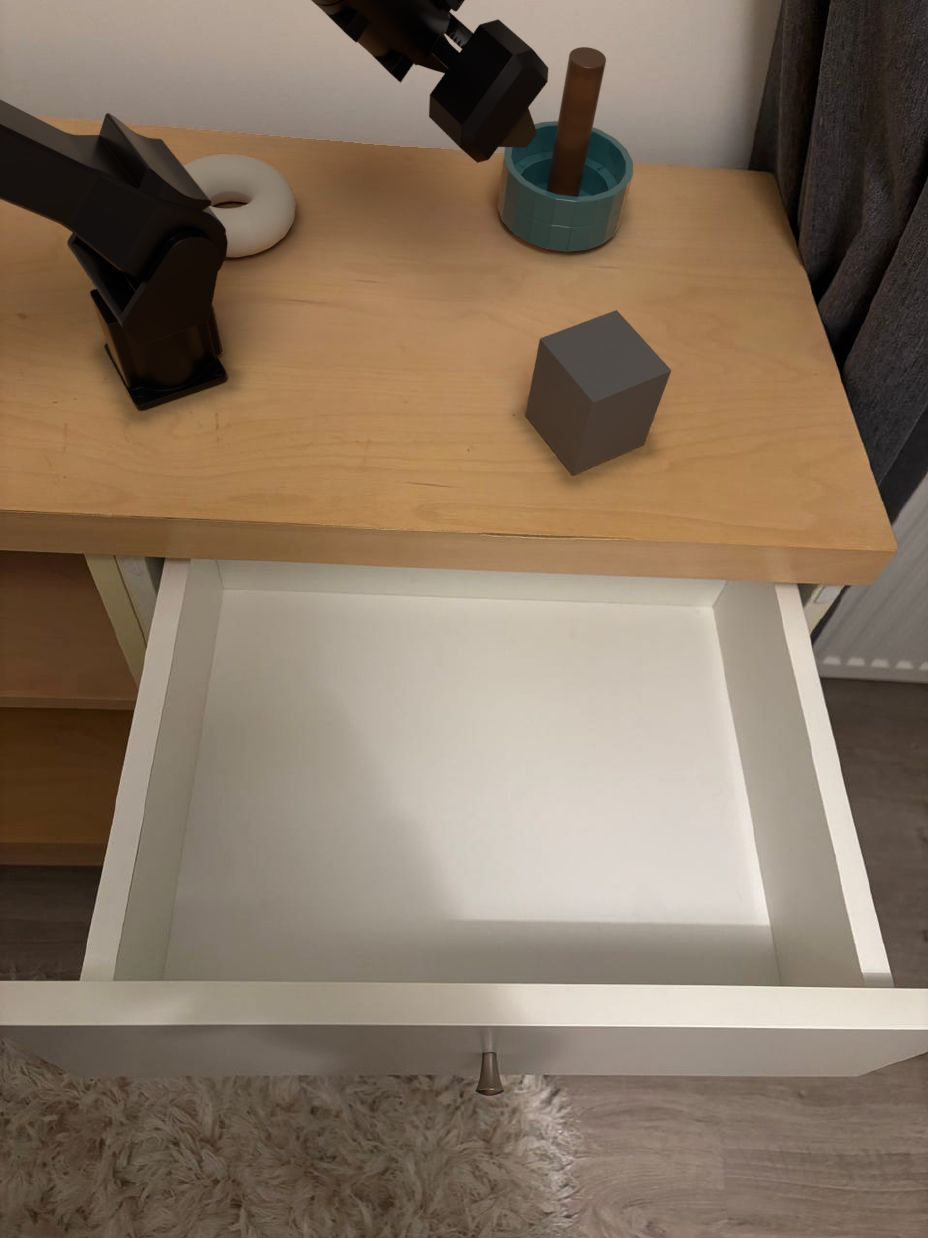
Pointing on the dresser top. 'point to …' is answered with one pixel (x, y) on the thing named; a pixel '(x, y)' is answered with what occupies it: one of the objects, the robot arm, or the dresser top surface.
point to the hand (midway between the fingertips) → (491, 102)
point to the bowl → (559, 215)
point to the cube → (595, 391)
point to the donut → (246, 200)
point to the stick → (576, 120)
